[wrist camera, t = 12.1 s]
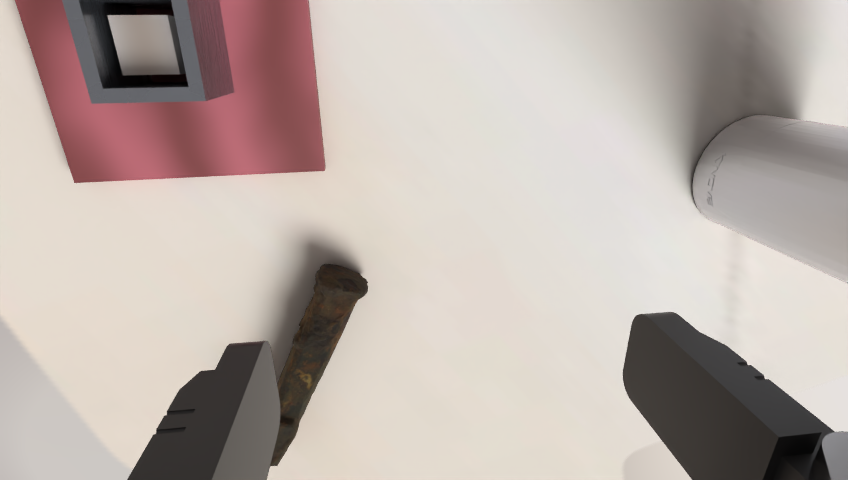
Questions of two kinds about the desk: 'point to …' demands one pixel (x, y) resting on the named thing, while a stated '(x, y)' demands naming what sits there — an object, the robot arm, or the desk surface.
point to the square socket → (107, 84)
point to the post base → (186, 121)
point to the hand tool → (314, 346)
